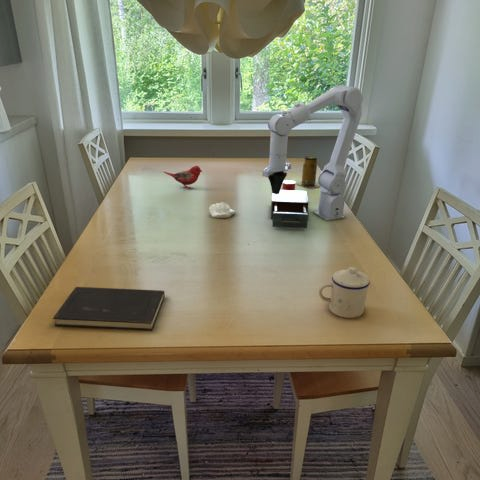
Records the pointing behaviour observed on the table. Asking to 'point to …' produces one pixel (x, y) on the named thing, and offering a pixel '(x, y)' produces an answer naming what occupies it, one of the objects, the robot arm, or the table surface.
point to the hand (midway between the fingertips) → (275, 193)
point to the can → (288, 185)
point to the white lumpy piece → (221, 210)
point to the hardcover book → (110, 308)
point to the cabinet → (289, 198)
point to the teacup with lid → (347, 293)
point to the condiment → (309, 172)
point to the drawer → (290, 215)
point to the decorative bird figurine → (187, 176)
